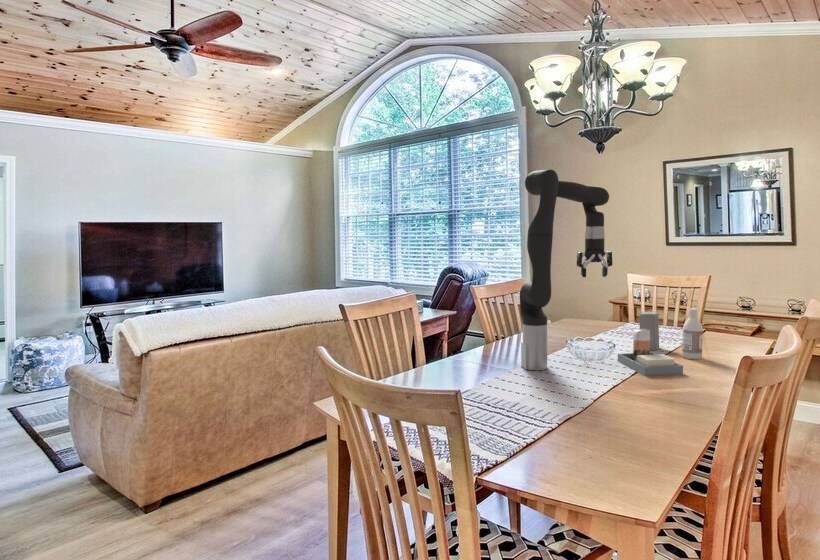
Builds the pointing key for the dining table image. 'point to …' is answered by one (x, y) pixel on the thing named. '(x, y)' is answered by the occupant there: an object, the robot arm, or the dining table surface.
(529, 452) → the dining table surface
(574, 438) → the dining table surface
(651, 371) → the tray
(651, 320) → the skincare box
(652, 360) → the egg box
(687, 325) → the bath foam
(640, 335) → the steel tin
